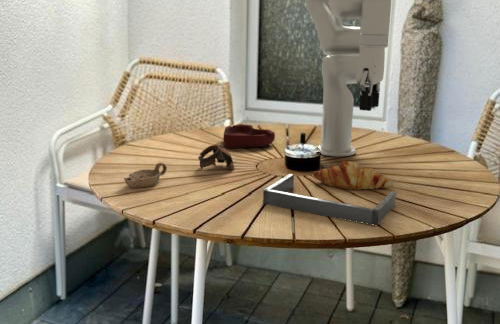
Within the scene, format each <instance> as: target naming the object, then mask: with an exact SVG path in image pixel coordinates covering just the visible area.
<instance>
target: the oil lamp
mask: <svg viewBox="0 0 500 324" xmlns="http://www.w3.org/2000/svg"><path fill="white" fill-rule="evenodd" d="M161 166H162V171H160V167H161ZM167 169H168V167H167V165H166V163H164V162H158V163H157V164H155V166H154V169H139V170H136V171H134V172H133V173H129V174H128V177H124V178H123V180H124V181H125V184H126V185H127V186H128V187H129V188H134V189H139V188H140V189H142V188H149V187H152V186H155V185H156V184H157V183H158V182H159V180H160V177H161V176H164V175H165V174H166V173H167Z"/></svg>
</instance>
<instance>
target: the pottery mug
mask: <svg viewBox="0 0 500 324" xmlns="http://www.w3.org/2000/svg"><path fill="white" fill-rule="evenodd" d="M211 152H212V154H210V155H209V156H207V157H205V156H206V155H208V154H209V153H211ZM197 158H198V160H199V167H200V169H202V170H203V169H204V168H206V167H210V166H215V167H216V166H217V164H216V160H217V163H218V164H221V163H222V164H223V163H226V167H230V170H231V171H232V172H234V171H235V164H234V161H233V157H232V155H231V154H230V152H229V151H228V150H227V149H226V147H225V146H224V144H223V145H222V144H212V145H208V146H207V147H206V148H205V149H202V151H201V152H200V154H199V156H198V157H197Z"/></svg>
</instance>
